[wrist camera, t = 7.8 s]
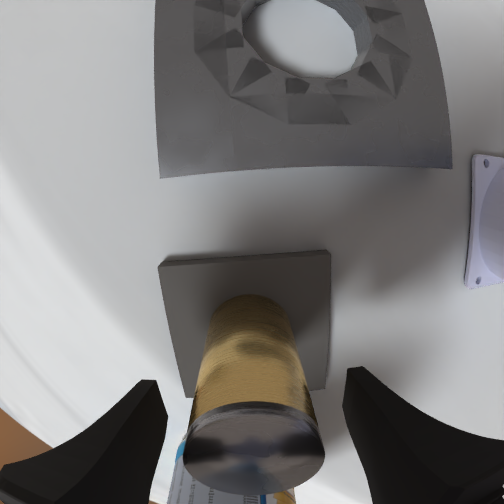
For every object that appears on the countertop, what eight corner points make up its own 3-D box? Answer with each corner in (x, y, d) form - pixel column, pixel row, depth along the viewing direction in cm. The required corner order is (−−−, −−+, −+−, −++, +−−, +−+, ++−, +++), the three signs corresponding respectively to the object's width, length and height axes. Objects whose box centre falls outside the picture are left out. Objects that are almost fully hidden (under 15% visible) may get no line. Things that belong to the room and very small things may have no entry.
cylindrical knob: (292, 293, 14) (336, 417, 6) (288, 362, 15) (314, 491, 7) (206, 294, 14) (172, 419, 6) (211, 363, 15) (192, 493, 7)
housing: (392, -32, 10) (405, -47, 8) (430, 167, 13) (452, 169, 11) (168, -39, 10) (160, -58, 8) (171, 177, 13) (160, 178, 11)
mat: (326, 249, 14) (330, 254, 14) (322, 380, 17) (325, 388, 16) (162, 261, 14) (157, 266, 14) (187, 389, 17) (185, 397, 16)
